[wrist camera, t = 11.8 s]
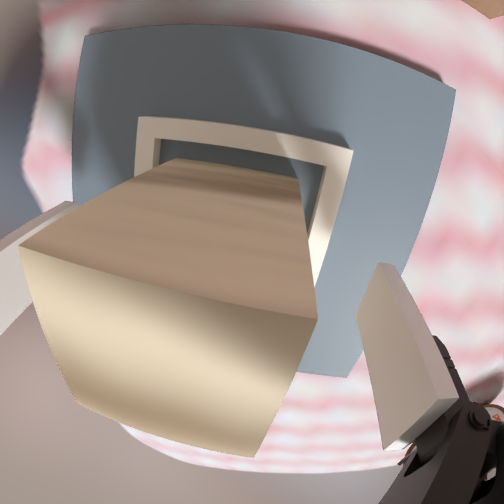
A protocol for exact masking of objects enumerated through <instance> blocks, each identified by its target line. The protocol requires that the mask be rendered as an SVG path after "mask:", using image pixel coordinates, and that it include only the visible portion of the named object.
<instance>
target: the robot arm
mask: <svg viewBox="0 0 504 504" xmlns="http://www.w3.org/2000/svg"><path fill="white" fill-rule="evenodd" d="M77 207H78V205H77V203H76V202H70V201H65V202H63V203H61V204H59V205H57V206H56V207H54V208H52V209H50V210H48V211H47V212H45V213H43V214H41V215H40V216H38V217H36V218H35V219H33V220H31V221H30V222H28V223H26V224H25V225H23V226H22V227H20V228H18V229H17V230H15V231H14V232H12V233H11V234H9V235H7V236H6V237H5V238H3V239H1V240H0V335H1V334H2V333H3V332H4V331H5V330H6V329H7V328H8V326H9V325H10V324H11V323H12V322H13V321H14V320H15V319H16V318H17V317H18V316H19V315H20V314H21V313H22V312H23V311H24V310H25V309H26V308H27V307H28V306H29V305H30V304H31V303H32V302H33V300H32V297H31V294H30V291H29V287H28V284H27V280H26V277H25V273H24V269H23V265H22V261H21V257H20V252H19V248H18V245H19V244H21V243H22V242H24V241H25V240H27V239H28V238H30V237H31V236H32V235H34V234H35V233H37V232H39V231H40V230H42V229H43V228H45V227H46V226H48V225H49V224H51V223H53V222H54V221H56V220H57V219H59V218H61V217H62V216H64V215H66V214H67V213H69V212H71V211H72V210H74V209H76V208H77ZM355 317H356V321H357V324H358V328H359V332H360V336H361V340H362V344H363V349H364V353H365V357H366V361H367V366H368V370H369V375H370V380H371V384H372V389H373V394H374V399H375V405H376V410H377V416H378V421H379V427H380V433H381V440H382V446H383V451H388V450H400V449H405V448H406V447H407V446H408V445H409V444H411V443H412V442H413V441H414V440H415V442H416V447H417V448H416V449H415V450H414V451H412V452H411V453H410V454H408V455H407V456H406V457H404V458H403V459H402V460H401V461H400V462H399V463H398V465H401V464H403V463H404V462H406V463H405V465H404V466H403V468H402V470H401V471H400V473H399V474H398V476H397V478H396V479H395V481H394V482H393V484H392V485H391V487H390V488H389V490H388V491H387V493H386V494H385V495H384V497H383V498H382V500H381V501H380V502H379V504H504V421H503V422H500V421H496V420H491V416H490V414H489V413H488V411H487V410H486V409H485V408H484V407H483V406H482V405H481V404H478V403H476V402H470V401H469V398H468V396H467V393H466V391H465V389H464V386H463V384H462V381H461V379H460V377H459V375H458V372H457V370H456V369H455V366H454V364H453V361H452V360H450V358H451V357H450V355H449V353H448V351H447V349H446V347H445V345H444V344H443V343H442V342H441V341H440V340H439V339H438V337H437V336H433V335H432V334H431V332H430V330H429V328H428V326H427V324H426V322H425V320H424V318H423V316H422V314H421V313H420V311H419V309H418V307H417V305H416V303H415V301H414V299H413V298H412V296H411V294H410V292H409V290H408V289H407V287H406V285H405V283H404V282H403V280H402V278H401V276H400V275H399V273H398V271H397V270H396V268H395V266H394V265H392V264H387V263H382V262H377V265H376V267H375V270H374V272H373V275H372V277H371V279H370V282H369V284H368V287H367V289H366V291H365V294H364V296H363V298H362V300H361V303H360V305H359V307H358V309H357V311H356V314H355ZM495 468H496V476H494V477H493V478H491V479H490V480H487V474H488V473H489V472H491V471H492V470H494V469H495Z"/></svg>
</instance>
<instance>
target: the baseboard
mask: <svg viewBox="0 0 504 504" xmlns="http://www.w3.org/2000/svg"><path fill="white" fill-rule="evenodd" d="M455 93H456V90H455V89H454V88H452V87H450V86H448V85H446V84H444V83H442V82H440V81H438V80H436V79H434V78H432V77H430V76H428V75H426V74H423V73H421V72H419V71H417V70H414V69H412V68H410V67H407V66H405V65H402V64H400V63H397V62H395V61H392V60H390V59H387V58H384V57H381V56H379V55H376V54H373V53H370V52H367V51H364V50H361V49H357V48H354V47H351V46H347V45H344V44H340V43H336V42H332V41H328V40H324V39H320V38H316V37H311V36H306V35H301V34H296V33H290V32H285V31H278V30H271V29H264V28H255V27H245V26H233V25H213V24H178V25H158V26H146V27H136V28H128V29H120V30H114V31H108V32H102V33H97V34H92V35H87V36H85V38H84V42H83V47H82V53H81V58H80V64H79V70H78V77H77V85H76V93H75V103H74V115H73V132H72V190H73V202H76V203H77V205H78V207H79V206H81V205H83V204H84V203H86V202H88V201H90V200H91V199H93V198H95V197H97V196H99V195H100V194H102V193H104V192H106V191H108V190H110V189H112V188H114V187H116V186H117V185H119V184H121V183H123V182H125V181H127V180H129V179H131V178H133V177H134V168H135V151H136V137H137V126H138V117H141V116H154V117H170V118H182V119H193V120H203V121H212V122H220V123H227V124H234V125H241V126H248V127H254V128H260V129H265V130H271V131H276V132H281V133H286V134H291V135H296V136H301V137H305V138H310V139H314V140H318V141H322V142H326V143H330V144H334V145H338V146H342V147H346V148H349V149H351V150H353V151H354V152H353V156H352V160H351V164H350V168H349V172H348V176H347V180H346V184H345V187H344V191H343V195H342V199H341V202H340V206H339V209H338V213H337V217H336V220H335V223H334V227H333V230H332V234H331V237H330V240H329V244H328V247H327V250H326V253H325V257H324V260H323V263H322V266H321V269H320V272H319V275H318V278H317V281H316V284H315V287H314V288H315V297H316V305H317V314H318V321H317V323H316V326H315V328H314V331H313V333H312V336H311V338H310V341H309V343H308V345H307V348H306V350H305V352H304V355H303V357H302V360H301V362H300V364H299V366H298V369H297V371H296V372H302V373H310V374H318V375H326V376H335V377H345V378H347V376H348V374H349V373H350V371H351V370H352V368H353V366H354V365H355V363H356V361H357V360H358V358H359V356H360V355H361V353H362V351H363V344H362V340H361V336H360V332H359V328H358V324H357V321H356V317H355V314H356V311H357V309H358V307H359V305H360V303H361V300H362V298H363V296H364V294H365V291H366V289H367V287H368V284H369V282H370V279H371V277H372V275H373V272H374V270H375V267H376V265H377V262H382V263H387V264H392V265H394V266H395V268H396V270H397V271H398V273H399V275H400V276H401V274H402V272H403V270H404V267H405V265H406V263H407V260H408V258H409V256H410V253H411V251H412V248H413V246H414V243H415V241H416V238H417V235H418V233H419V230H420V227H421V225H422V222H423V219H424V216H425V213H426V210H427V207H428V204H429V201H430V198H431V195H432V192H433V189H434V185H435V182H436V179H437V175H438V172H439V168H440V164H441V161H442V157H443V153H444V149H445V145H446V140H447V136H448V131H449V126H450V122H451V116H452V111H453V105H454V99H455ZM174 158H182V159H190V160H197V161H204V162H211V163H218V164H224V165H230V166H236V167H242V168H248V169H254V170H259V171H264V172H270V173H275V174H280V175H285V176H290V177H294V178H298V181H299V187H300V193H301V199H302V205H303V211H304V217H305V223H306V230H307V234H308V230H309V226H310V222H311V218H312V214H313V211H314V207H315V203H316V199H317V195H318V191H319V186H320V182H321V178H322V174H323V170H324V166H323V165H319V164H315V163H311V162H306V161H302V160H297V159H292V158H288V157H283V156H278V155H273V154H267V153H262V152H257V151H251V150H245V149H239V148H233V147H226V146H219V145H212V144H205V143H197V142H189V141H180V140H170V139H161V146H160V157H159V165H161V164H163V163H165V162H168V161H170V160H172V159H174Z"/></svg>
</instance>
